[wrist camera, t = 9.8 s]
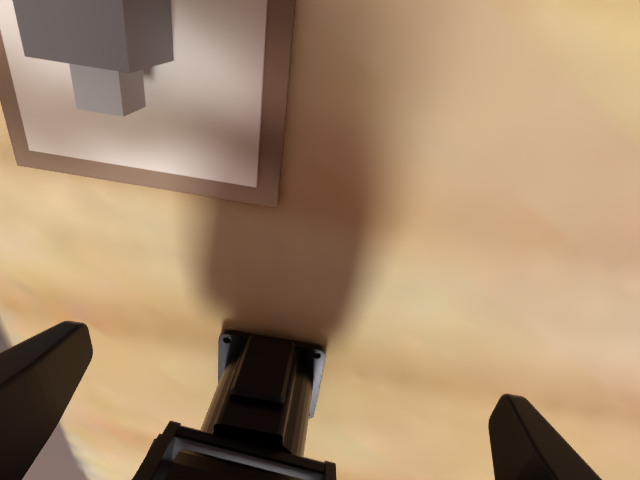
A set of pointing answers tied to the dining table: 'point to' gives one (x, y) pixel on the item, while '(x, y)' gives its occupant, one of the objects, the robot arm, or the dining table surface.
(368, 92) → the dining table surface
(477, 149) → the dining table surface
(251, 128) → the picture frame
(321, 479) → the robot arm
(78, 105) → the marker
